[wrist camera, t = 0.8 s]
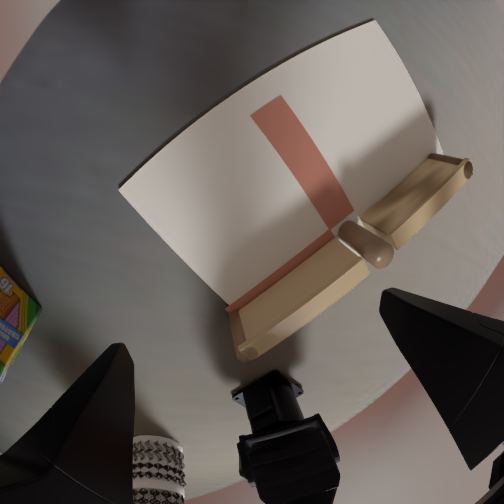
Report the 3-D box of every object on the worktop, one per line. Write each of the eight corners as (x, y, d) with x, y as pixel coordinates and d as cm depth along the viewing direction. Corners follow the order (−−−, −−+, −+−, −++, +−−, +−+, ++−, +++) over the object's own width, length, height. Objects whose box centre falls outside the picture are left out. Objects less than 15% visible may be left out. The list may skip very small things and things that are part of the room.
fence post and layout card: (447, 174, 23) (486, 186, 18) (249, 336, 26) (262, 379, 21) (373, 20, 16) (412, 4, 11) (110, 198, 18) (83, 220, 13)
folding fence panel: (364, 229, 23) (397, 250, 19) (357, 215, 22) (391, 234, 18) (438, 163, 22) (473, 173, 17) (434, 150, 21) (470, 157, 17)
